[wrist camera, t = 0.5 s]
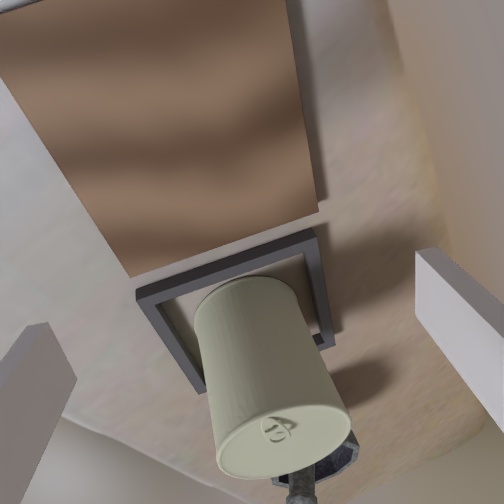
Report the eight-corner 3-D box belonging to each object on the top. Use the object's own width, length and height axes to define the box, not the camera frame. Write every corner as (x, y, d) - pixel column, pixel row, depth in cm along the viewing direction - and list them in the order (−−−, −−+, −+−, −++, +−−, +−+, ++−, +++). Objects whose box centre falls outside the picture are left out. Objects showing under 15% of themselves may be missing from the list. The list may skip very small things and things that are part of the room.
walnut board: (-26, 21, 18) (-33, 25, 17) (267, -75, 18) (272, -76, 17) (130, 268, 28) (130, 277, 27) (313, 204, 28) (318, 211, 28)
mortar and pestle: (347, 396, 47) (399, 505, 38) (288, 434, 50) (323, 546, 41) (294, 365, 41) (341, 489, 31) (229, 412, 43) (255, 539, 34)
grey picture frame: (135, 289, 29) (135, 300, 28) (311, 227, 30) (316, 237, 29) (197, 383, 38) (198, 394, 38) (330, 335, 39) (335, 345, 38)
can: (278, 258, 31) (340, 391, 22) (308, 323, 37) (367, 449, 28) (173, 306, 31) (191, 456, 22) (220, 363, 37) (249, 500, 28)
